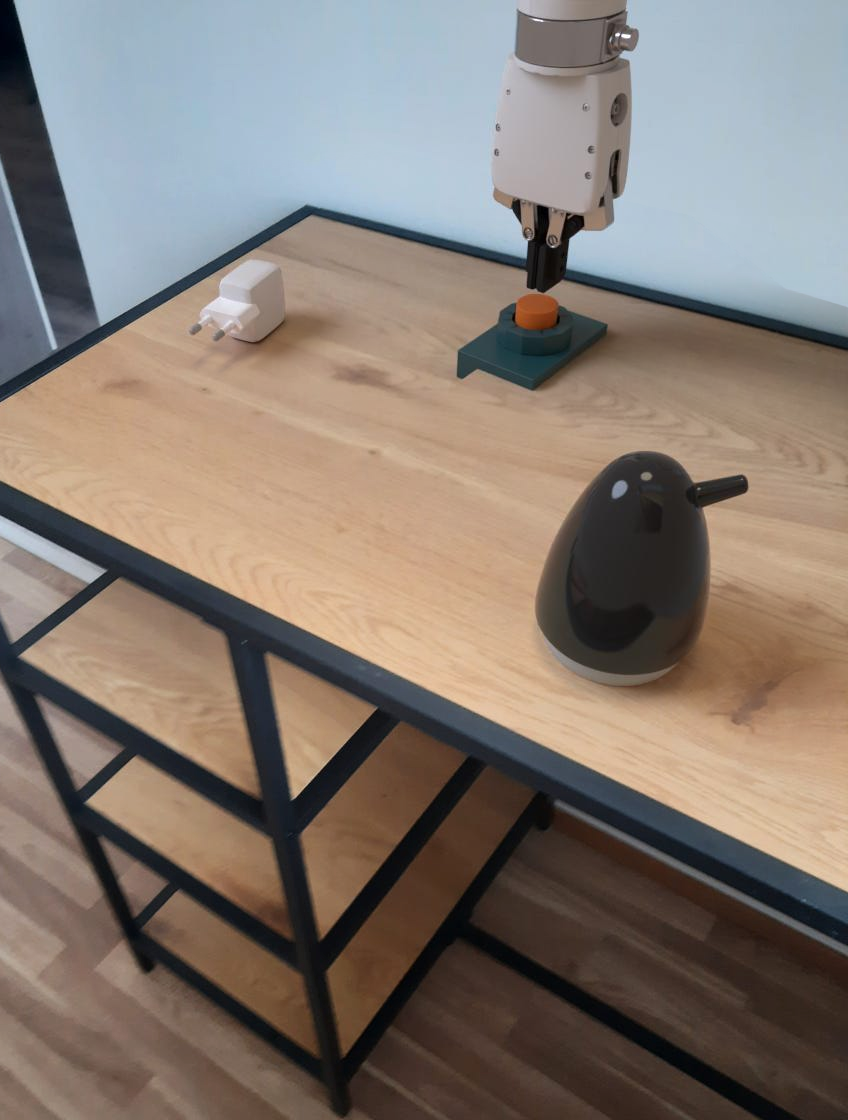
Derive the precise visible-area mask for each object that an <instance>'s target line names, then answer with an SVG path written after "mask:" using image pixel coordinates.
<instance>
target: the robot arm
mask: <svg viewBox="0 0 848 1120" xmlns="http://www.w3.org/2000/svg"><path fill="white" fill-rule="evenodd" d="M516 2H517V3H516V12H515V13H516V15H515V31H514V46H513V47H514V48H513V51H512V52H511V53H509V54H508V55H507V59H506V62H505V65H504V70H503V73H502V77H501V81H500V88H499V92H498V96H497V97H498V98H497V101H496V102H497V103H496V109H495V116H494V124H493V133H492V140H491V141H492V143H491V153H490V154H491V155H490V156H491V157H490V158H491V159H490V160H491V161H490V177H491V182H492V185H493V187H494V188H493V192H492V197H493V199H494V201H495V202H497V203H499V204H500V205H502V206H503V207H505V208H507V209H508V210H512V212H513V214H514V216H515V218H516V219H517V221H518V222H519V224H520V226H521V235H522V238H523V239H524V240H525V241H527V247H526V260H525V261H526V262H525V272H526V273H527V274H526V284H525V285H526V289H529V290H536V291H537V292H538V293H540V294H545V293H546V292H548V291H549V290H551V289H552V288H553V287H555V286H557V285H558V284H560V282H562V280H563V279H564V278H565V276H566V273H567V268H568V267H567V265H568V259H569V258H568V257H569V248H570V239H571V238H573V237H575V235H577V234H578V233H580V232H581V231H585V232H601V231H604V230H606V229H608V228H609V227H610V226H612V225H613V224H614V222H615V212H614V211H615V210H614V200H616V199H619V198H620V197H621V196H622V195H623V194H624V191H625V188H626V183H627V177H628V170H629V169H628V168H629V161H630V147H631V135H632V133H631V132H632V117H633V116H632V115H633V113H632V112H633V92H632V90H633V89H632V73H631V72H632V71H631V61H630V60H629V59H626V58H623V57H620V56H621V55H622V54H623V52H624V51H626V52H634V50H635V49H636V48H637V45H638V43H639V38H640V31H639V30H638V28H634V27H630V25H629V24H627V20H628V11H627V4H628V3H627V2H628V0H517V1H516Z"/></svg>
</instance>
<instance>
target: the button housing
mask: <svg viewBox="0 0 848 1120" xmlns="http://www.w3.org/2000/svg"><path fill="white" fill-rule="evenodd" d="M516 305H517V302H512V303H510V304H508V305H507V306H505V307H503V308H502V309H501V310H500V311H499V314H498V319H497V323H496V324H495V325H493V326H491V327H490V328H489V329H487V330H485V331H484V332H483V333H481V334H480V335H478V336H477V337H475V338H474V339H473V340H470V341H469V342H468V343H466V344H465V345H463V346H462V347H460V348H459V349H458V350H457V356H456V357H457V359H456V378H457V379H460V380H464V379H465V378H467V377H468V376H469V375H471V374H472V373H474V372H475V371H476V370H479V371H482V372H485V373H487V374H489V375H492V376H494V377H497V378H500V379H502V380H504V381H507V382H509V383H511V384H515V385H516V386H519V387H521V388H524V389H526V390H529V391H531V392H533V391H535V390H536V389H537V388H538V387H540V386H541V385H542V384H544V383H545V382H546V381H548V380H549V379H551V378H552V377H553V376H554V375H556V374H557V373H558V372H560V371H561V370H562V369H563V368H565V367H566V366H567V365H569V364H570V363H572V361H574V360H576V359H577V358H578V357H579V356H580V355H582V354H584V352H586V351H587V350H588V349H589V348H591V347H592V346H593V345H595V344H596V343H598V342H599V341H600V340H601V339H603V338H604V337H605V336H606V335H607V333H608V327H609V324H608V323H606V322H603V321H600V320H597V319H594V318H592V317H588V316H585V315H583V314H580V313H576V312H574V311H571V310H569V309H567V308H566V307H565V306H562V305H560V304H558V305H559V306H558V314H557V322H556V325H555V326H554V327H553V328H551V329H546V330H541V331H539V330H528V329H525V328H522V327H520V326H517V325H516V323H515V316H516Z"/></svg>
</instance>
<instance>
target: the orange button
mask: <svg viewBox="0 0 848 1120" xmlns="http://www.w3.org/2000/svg"><path fill="white" fill-rule="evenodd" d="M516 303H517V305H516V316H515V323H516V325H517V326H520V327H522V328H525V329H528V330H539V331H541V330H546V329H551V328H553V327H554V326H555V325H556V322H557V314H558V306H559V305H560V304H559V302H558V300H557V299H556V298H554V297H553V296H550V295H547V294H544V293H532V294H526V295H523V296H521V297H519V298H518V300H517V301H516Z"/></svg>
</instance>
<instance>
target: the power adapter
mask: <svg viewBox="0 0 848 1120" xmlns="http://www.w3.org/2000/svg"><path fill="white" fill-rule="evenodd" d="M282 271H283V270H282V269H281V267H280V266H279V265H278V264H276V263H273V262H270V261H266V260H261V259H253V258H250V259H247V260H246V261H244V262H243V263H241V264H240V265H238V266H237V267H235V268H234V269H233V270H231V271H229V272H228V273H227V274H226V275H225V276H224V277H222V278H221V280H220V283H219V287H218V291H219V296H218V297H216V298H215V299H213V300H212V301H211V302H210V303H208V304H207V305H205V306H204V307H203V308H201V311H200V313H199V314H198V315H199V318H200V320H199V321H198V322H196V323H195V324H194V325H192V326H190V328H189V329H188V333H189V334H190V335H191V336H195V335H196V334H198V333H199V332H201V331H202V330H203V329H204V328H205V327H208V328H211V329H216V330H217V331H215V332H213V334H212V335H211V338H212V341H214V342H219V341H220V340H221V339H223V338H224V337H225V336H226V335H228V336H229V337H230V338H235V339H237V340H241V341H245V342H250V343H257V342H260V341H261V340H263V339H264V338H265V337H266V336H268V335H269V334H270V333H272V332H273V331H274V330H275V329H276V328H278V326H280V325H281V324H282V323H283V322H284V320H285V317H286V315H287V311H286V297H285V287H284V286H285V285H284V278H283V272H282Z"/></svg>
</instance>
